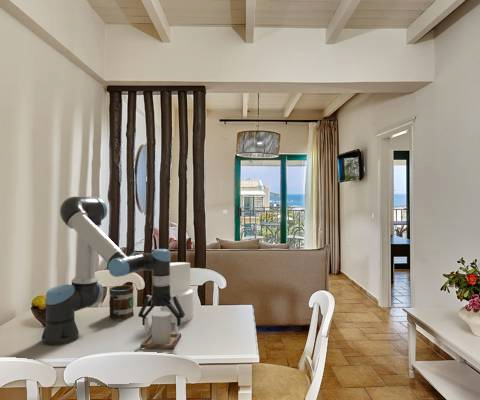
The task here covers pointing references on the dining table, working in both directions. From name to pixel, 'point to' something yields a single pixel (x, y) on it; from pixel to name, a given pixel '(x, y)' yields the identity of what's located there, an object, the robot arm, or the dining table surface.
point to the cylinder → (180, 290)
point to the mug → (121, 302)
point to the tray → (170, 346)
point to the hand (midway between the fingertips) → (161, 332)
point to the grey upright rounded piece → (161, 327)
